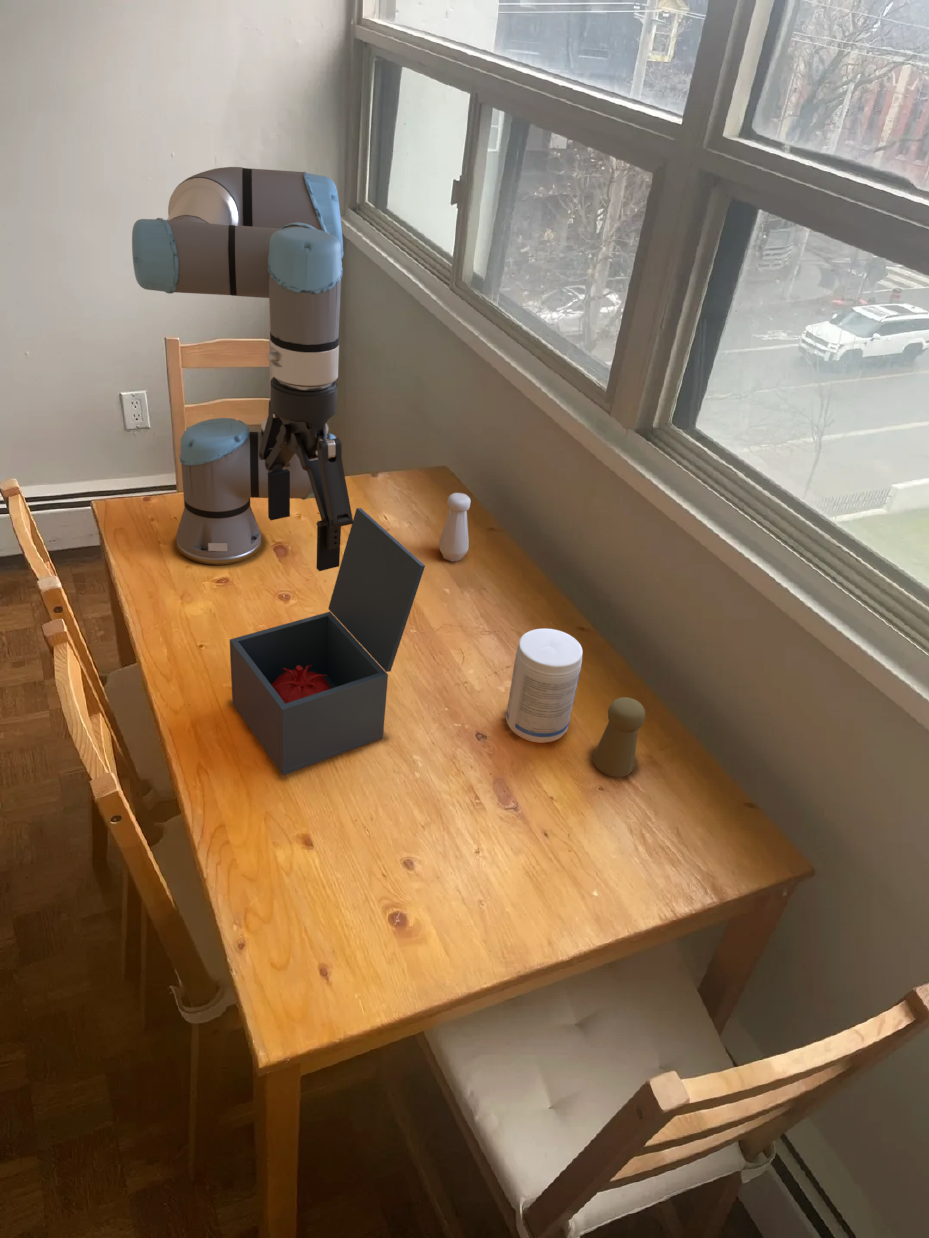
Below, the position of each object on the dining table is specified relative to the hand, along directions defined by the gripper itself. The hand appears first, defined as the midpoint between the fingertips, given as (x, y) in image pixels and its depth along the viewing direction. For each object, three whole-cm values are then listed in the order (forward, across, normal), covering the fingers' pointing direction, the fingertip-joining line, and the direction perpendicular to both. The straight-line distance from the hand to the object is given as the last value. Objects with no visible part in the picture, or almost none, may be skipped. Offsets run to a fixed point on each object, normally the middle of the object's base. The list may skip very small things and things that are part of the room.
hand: (302, 541), depth 114 cm
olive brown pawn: (+31, +29, +36) cm, 55 cm away
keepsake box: (+31, 0, +1) cm, 31 cm away
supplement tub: (+31, +17, +31) cm, 47 cm away
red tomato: (+30, 0, 0) cm, 30 cm away
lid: (+10, 0, +10) cm, 15 cm away
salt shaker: (+31, -29, +47) cm, 63 cm away
